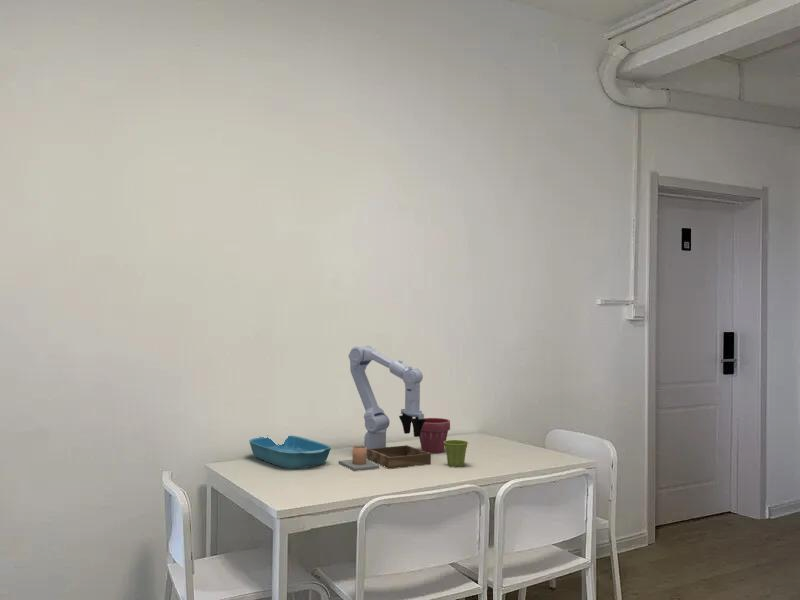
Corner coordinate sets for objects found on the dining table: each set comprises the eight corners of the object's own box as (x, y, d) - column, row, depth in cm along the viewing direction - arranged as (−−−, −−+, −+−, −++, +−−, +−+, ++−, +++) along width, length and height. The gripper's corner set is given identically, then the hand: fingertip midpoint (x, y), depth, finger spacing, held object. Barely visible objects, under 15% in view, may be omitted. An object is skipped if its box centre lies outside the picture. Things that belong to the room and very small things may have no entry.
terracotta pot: (351, 462, 272) (351, 445, 272) (364, 461, 274) (365, 445, 274) (353, 465, 267) (354, 448, 267) (367, 464, 269) (367, 448, 269)
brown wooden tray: (366, 459, 282) (367, 449, 282) (406, 455, 291) (407, 445, 291) (389, 468, 266) (389, 457, 266) (430, 464, 275) (430, 453, 275)
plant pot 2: (439, 465, 273) (439, 442, 273) (449, 461, 281) (449, 438, 281) (462, 468, 269) (462, 445, 269) (471, 464, 277) (472, 441, 277)
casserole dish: (341, 465, 271) (341, 446, 272) (290, 474, 257) (290, 454, 257) (288, 450, 299) (288, 432, 299) (239, 456, 285) (239, 438, 285)
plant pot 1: (409, 448, 304) (410, 418, 304) (439, 446, 310) (439, 416, 310) (425, 455, 291) (425, 423, 291) (455, 453, 297) (456, 421, 297)
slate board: (338, 463, 274) (338, 460, 274) (362, 461, 279) (362, 458, 279) (354, 471, 262) (354, 468, 262) (379, 468, 267) (379, 465, 267)
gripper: (430, 402, 280) (430, 437, 280) (411, 397, 292) (411, 431, 292) (415, 403, 276) (414, 438, 276) (396, 398, 289) (396, 432, 289)
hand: (411, 435), depth 284 cm, fingers open, 7 cm apart
